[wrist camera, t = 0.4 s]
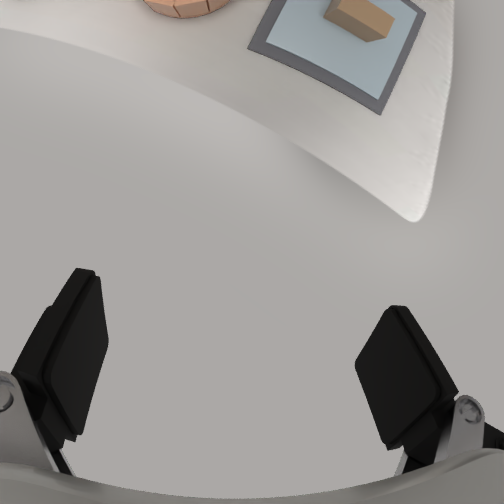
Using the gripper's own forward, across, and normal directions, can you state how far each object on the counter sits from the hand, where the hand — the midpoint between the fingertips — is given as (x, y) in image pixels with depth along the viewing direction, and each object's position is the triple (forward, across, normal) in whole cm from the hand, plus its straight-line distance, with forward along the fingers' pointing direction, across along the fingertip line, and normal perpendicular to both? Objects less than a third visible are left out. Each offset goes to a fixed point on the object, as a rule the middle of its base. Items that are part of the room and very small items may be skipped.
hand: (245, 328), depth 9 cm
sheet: (+29, -10, -19) cm, 36 cm away
